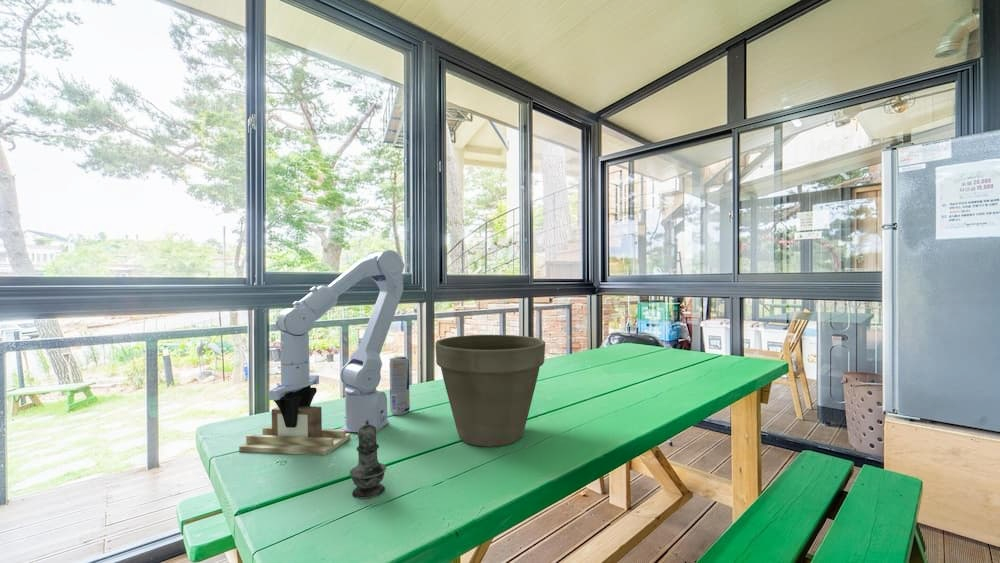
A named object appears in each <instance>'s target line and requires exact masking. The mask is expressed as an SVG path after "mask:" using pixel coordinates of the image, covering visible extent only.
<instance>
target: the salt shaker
mask: <svg viewBox="0 0 1000 563" xmlns="http://www.w3.org/2000/svg"><path fill="white" fill-rule="evenodd" d="M365 423H366V425H364V426H362V427H361V428H360V429H359V432H358V446H357V447H356V451H357V452H358V455H357V456H358V462H357V466H354V467H353V468H352V469H351V470H350V471H349V475H350V477H351V480H352V482H353V484H354V486H356V487H355V488H354V489H353V490H352V492H351V495H352V497H353V498H354V499H356V500H358V499H359V500H368V499H373V498H377V497H378V496H380V495H382V494H383V493H384V492H385V489H386V487H385V486H384V485H383V484H382V483H381V482H382V481H383V479H384V477H385V472H386V470H387V466H386V465H385V464H384V463H381V462H379V460H378V448H380V446H379V443H377V432H376V428H375V427H374V426H373V425H370V424H369V421H368V420H367V421H366V422H365Z"/></svg>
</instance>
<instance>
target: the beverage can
mask: <svg viewBox="0 0 1000 563" xmlns="http://www.w3.org/2000/svg"><path fill="white" fill-rule="evenodd" d="M389 399H390V400H389V401H390V402H389V403H390V404H389V405H390V413H392V415H394V416H405V415H406V414H408V412H410V409H411V407H410V406H411V400H410V399H411V398H410V361H409V357H407V356H395V357H390V358H389Z"/></svg>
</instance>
